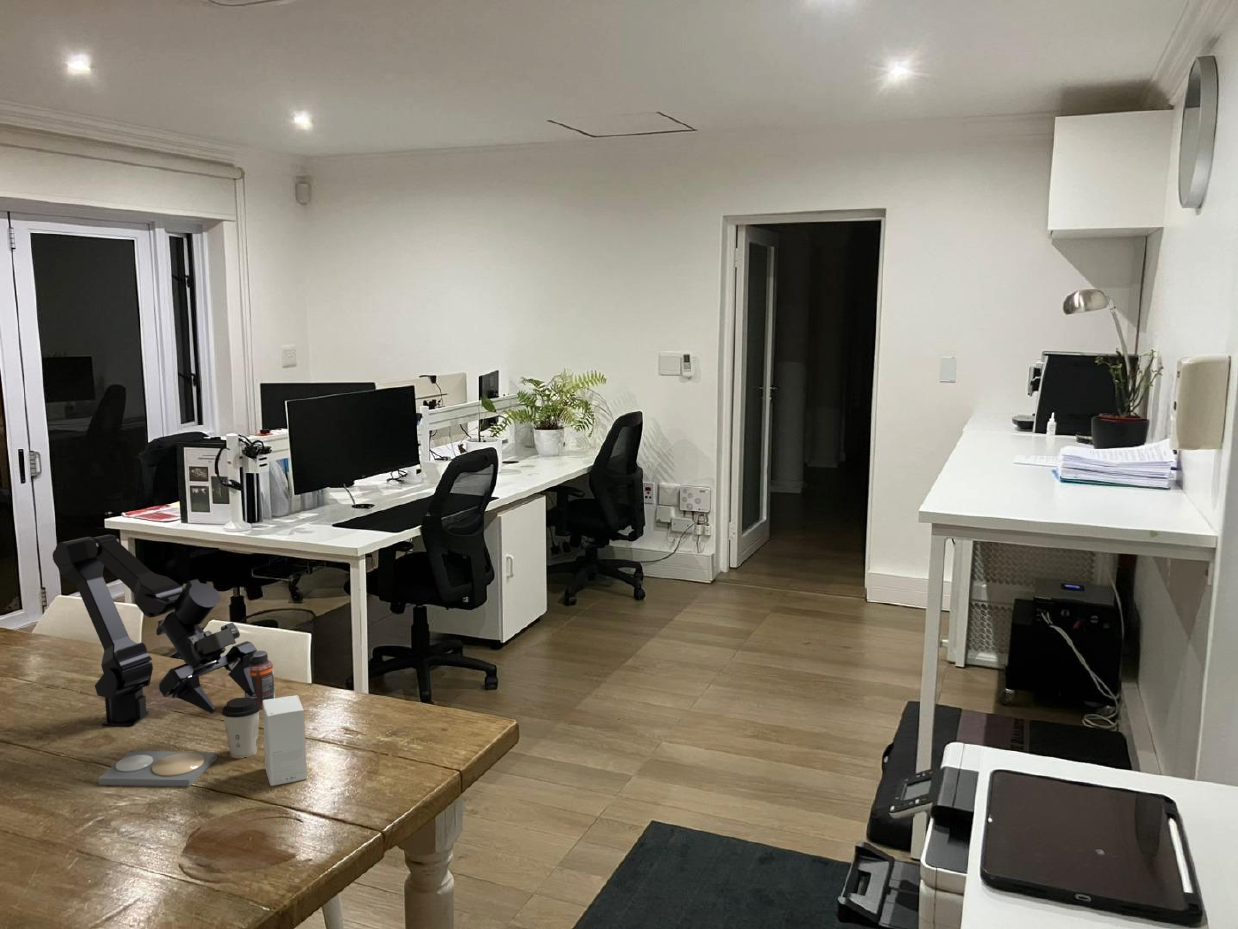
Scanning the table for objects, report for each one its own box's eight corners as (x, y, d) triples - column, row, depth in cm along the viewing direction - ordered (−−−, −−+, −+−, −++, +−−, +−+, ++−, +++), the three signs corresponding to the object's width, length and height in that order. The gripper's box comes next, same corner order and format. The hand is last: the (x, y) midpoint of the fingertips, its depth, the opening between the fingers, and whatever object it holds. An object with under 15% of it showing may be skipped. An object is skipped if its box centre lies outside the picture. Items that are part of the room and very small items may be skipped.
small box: (307, 780, 172) (304, 710, 170) (269, 787, 169) (266, 716, 167) (301, 761, 179) (298, 694, 177) (264, 768, 176) (261, 699, 174)
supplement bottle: (280, 700, 207) (277, 649, 206) (267, 711, 202) (264, 658, 200) (253, 698, 208) (250, 648, 206) (239, 709, 202) (237, 657, 201)
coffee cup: (271, 749, 184) (269, 699, 182) (243, 764, 177) (240, 712, 176) (244, 742, 186) (241, 692, 185) (215, 756, 180) (212, 705, 179)
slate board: (98, 785, 169) (98, 776, 169) (131, 757, 180) (131, 748, 180) (189, 786, 169) (188, 778, 168) (216, 758, 180) (216, 750, 179)
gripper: (165, 627, 173) (212, 696, 170) (247, 601, 190) (292, 663, 186) (138, 663, 178) (184, 731, 174) (221, 634, 194) (264, 695, 191)
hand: (233, 703), depth 181 cm, fingers open, 9 cm apart
